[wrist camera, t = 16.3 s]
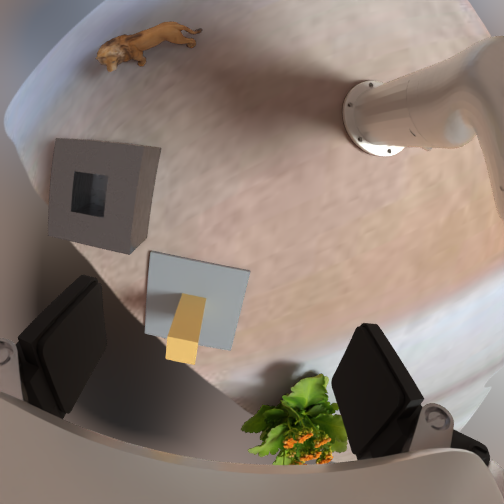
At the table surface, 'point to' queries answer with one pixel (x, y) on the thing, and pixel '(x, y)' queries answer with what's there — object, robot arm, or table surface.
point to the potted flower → (300, 425)
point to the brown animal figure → (142, 44)
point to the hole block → (102, 193)
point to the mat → (198, 284)
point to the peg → (185, 329)
